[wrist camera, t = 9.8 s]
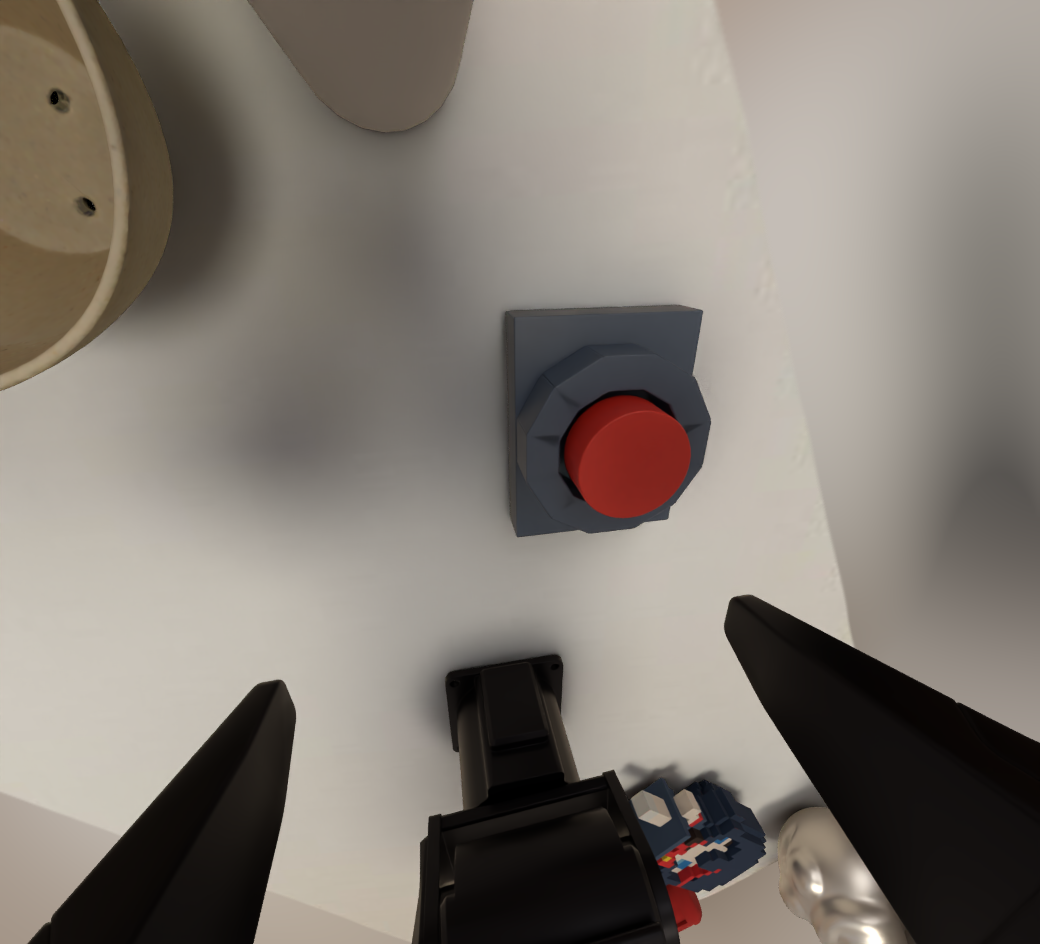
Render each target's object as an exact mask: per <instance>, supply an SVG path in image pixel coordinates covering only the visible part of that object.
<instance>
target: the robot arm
mask: <svg viewBox="0 0 1040 944" xmlns="http://www.w3.org/2000/svg"><path fill="white" fill-rule="evenodd" d="M724 630H725V634H726V637H727V639H728V641H729V643H730V645H731V646H732V648H733V650H734V652H735V654H736V656H737V658H738V660H739V662H740V664H741V666H742V668H743V670H744V671H745V673H746V675H747V677H748V679H749V681H750V683H751V685H752V687H753V689H754V691H755V693H756V695H757V696H758V698H759V700H760V702H761V703H762V705H763V707H764V708H765V710H766V712H767V713H768V715H769V717H770V718H771V720H772V721H773V723H774V724H775V726H776V727H777V729H778V731H779V732H780V734H781V735H782V737H783V738H784V740H785V741H786V743H787V745H788V746H789V748H790V749H791V751H792V752H793V754H794V755H795V757H796V759H797V760H798V762H799V763H800V765H801V766H802V768H803V769H804V771H805V773H806V774H807V776H808V777H809V779H810V780H811V782H812V783H813V785H814V787H815V788H816V790H817V791H818V793H819V794H820V796H821V797H822V799H823V800H824V802H825V804H826V805H827V807H828V808H829V810H830V811H831V813H832V814H833V816H834V818H835V819H836V821H837V822H838V824H839V825H840V827H841V828H842V830H843V832H844V833H845V835H846V836H847V838H848V839H849V841H850V842H851V844H852V846H853V847H854V849H855V850H856V852H857V853H858V855H859V856H860V858H861V860H862V861H863V863H864V864H865V866H866V867H867V869H868V870H869V872H870V874H871V875H872V877H873V878H874V880H875V881H876V883H877V884H878V886H879V888H880V889H881V891H882V892H883V894H884V895H885V897H886V898H887V900H888V901H889V903H890V905H891V906H892V908H893V909H894V911H895V912H896V914H897V915H898V917H899V919H900V920H901V922H902V923H903V925H904V926H905V928H906V929H907V931H908V933H909V934H910V936H911V937H912V939H913V940H914V942H915V943H916V944H1040V743H1039V742H1037V741H1035V740H1033V739H1030V738H1028V737H1026V736H1024V735H1022V734H1020V733H1018V732H1016V731H1014V730H1012V729H1010V728H1008V727H1006V726H1004V725H1002V724H1000V723H998V722H996V721H995V720H992V719H990V718H988V717H986V716H985V715H983V714H981V713H979V712H977V711H975V710H973V709H971V708H969V707H967V706H965V705H963V704H962V703H956V702H955V701H954V700H953V699H952V698H950V697H948V696H946V695H944V694H942V693H940V692H938V691H936V690H934V689H932V688H930V687H928V686H927V685H925V684H923V683H921V682H918V681H917V680H915V679H913V678H911V677H909V676H907V675H905V674H903V673H901V672H899V671H898V670H896V669H894V668H892V667H890V666H888V665H886V664H884V663H882V662H880V661H878V660H877V659H875V658H873V657H871V656H869V655H867V654H865V653H863V652H861V651H859V650H857V649H855V648H853V647H851V646H850V645H848V644H846V643H844V642H842V641H840V640H838V639H836V638H834V637H832V636H830V635H828V634H826V633H824V632H823V631H821V630H819V629H817V628H815V627H813V626H811V625H809V624H807V623H805V622H803V621H801V620H799V619H797V618H796V617H794V616H792V615H790V614H788V613H786V612H784V611H782V610H780V609H778V608H776V607H774V606H772V605H771V604H769V603H767V602H765V601H763V600H761V599H759V598H757V597H755V596H753V595H742V596H736V597H733V598H732V599H731V600H730V602H729V605H728V610H727V614H726V618H725V623H724ZM562 680H563V662H562V659H561V657H560V656H559V655H548V656H542V657H536V658H530V659H524V660H518V661H512V662H506V663H500V664H494V665H488V666H482V667H476V668H470V669H464V670H458V671H453V672H450V673H448V674H447V675H446V677H445V686H446V694H447V702H448V711H449V719H450V727H451V735H452V744H453V750H454V751H455V752H459V756H460V770H461V783H462V797H463V811H459V812H455V813H451V814H447V815H443V816H442V815H441V814H437V815H434V816H430V817H429V823H428V836H427V837H426V838H424V839H423V840H422V841H421V842H420V888H419V898H418V904H417V911H416V918H415V925H414V932H413V939H412V944H680V939H679V934H678V928H677V924H676V920H675V915H674V911H673V908H672V904H671V901H670V897H669V894H668V891H667V888H666V885H665V882H664V879H663V876H662V873H661V871H660V868H659V866H658V863H657V861H656V858H655V856H654V854H653V851H652V849H651V847H650V845H649V843H648V841H647V839H646V837H645V835H644V832H643V830H642V828H641V826H640V824H639V822H638V820H637V818H636V816H635V813H634V811H633V809H632V807H631V805H630V803H629V801H628V799H627V797H626V795H625V792H624V790H623V788H622V786H621V784H620V782H619V780H618V778H617V776H616V773H615V771H614V770H611V771H607V772H603V773H602V775H600V776H596V777H593V778H589V779H585V780H581V781H580V779H579V775H578V772H577V769H576V765H575V762H574V758H573V755H572V752H571V748H570V745H569V741H568V738H567V735H566V731H565V728H564V725H563V721H562V718H561V699H562ZM295 724H296V710H295V706H294V704H293V702H292V699H291V697H290V694H289V692H288V689H287V687H286V685H285V683H284V682H283V681H282V680H273V681H268V682H262V683H259V684H257V685H256V686H255V687H254V688H253V689H252V690H251V691H250V692H249V693H248V694H247V696H246V697H245V698H244V699H243V700H242V701H241V702H240V703H239V705H238V706H237V707H236V708H235V709H234V710H233V711H232V713H231V714H230V715H229V716H228V717H227V718H226V719H225V720H224V722H223V723H222V724H221V725H220V726H219V727H218V728H217V730H216V731H215V732H214V733H213V734H212V735H211V736H210V737H209V739H208V740H207V741H206V742H205V743H204V744H203V745H202V747H201V748H200V749H199V750H198V751H197V752H196V753H195V755H194V756H193V757H192V758H191V759H190V760H189V761H188V762H187V764H186V765H185V766H184V767H183V768H182V769H181V770H180V772H179V773H178V774H177V775H176V776H175V777H174V778H173V779H172V781H171V782H170V783H169V784H168V785H167V786H166V787H165V789H164V790H163V791H162V792H161V793H160V794H159V795H158V796H157V798H156V799H155V800H154V801H153V802H152V803H151V804H150V806H149V807H148V808H147V809H146V810H145V811H144V812H143V813H142V815H141V816H140V817H139V818H138V819H137V820H136V821H135V823H134V824H133V825H132V826H131V827H130V828H129V829H128V830H127V832H126V833H125V834H124V835H123V836H122V837H121V838H120V840H119V841H118V842H117V843H116V844H115V845H114V846H113V847H112V849H111V850H110V851H109V852H108V853H107V854H106V856H105V857H104V858H103V859H102V860H101V861H100V862H99V863H98V864H97V866H96V867H95V868H94V869H93V870H92V871H91V873H90V874H89V875H88V876H87V877H86V878H85V879H84V881H83V882H82V883H81V884H80V885H79V886H78V887H77V888H76V889H75V891H74V892H73V893H72V894H71V895H70V896H69V898H67V900H66V901H65V902H64V903H63V904H62V905H61V907H60V908H59V909H58V910H57V911H56V912H55V913H54V914H53V916H52V918H51V922H48V923H46V924H45V925H43V927H42V928H41V929H40V930H39V931H38V932H37V933H36V934H35V936H34V937H33V938H32V939H31V940H30V941H29V943H28V944H253V943H254V939H255V934H256V930H257V926H258V921H259V917H260V913H261V909H262V904H263V900H264V895H265V892H266V887H267V883H268V879H269V875H270V870H271V866H272V862H273V857H274V853H275V849H276V845H277V840H278V836H279V832H280V827H281V823H282V818H283V813H284V807H285V800H286V793H287V785H288V778H289V770H290V762H291V754H292V747H293V739H294V731H295Z"/></svg>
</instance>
